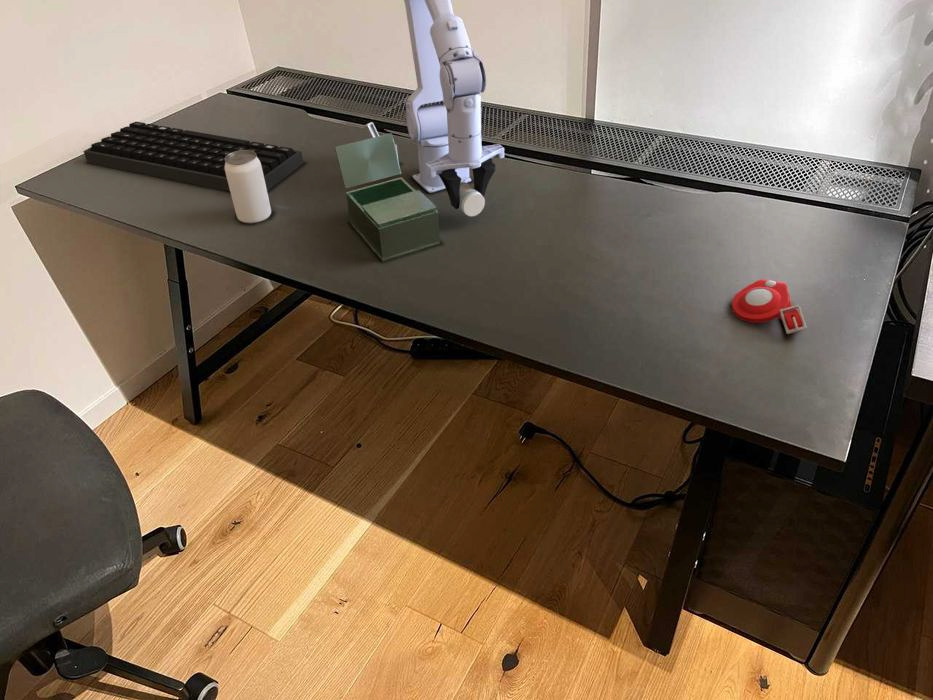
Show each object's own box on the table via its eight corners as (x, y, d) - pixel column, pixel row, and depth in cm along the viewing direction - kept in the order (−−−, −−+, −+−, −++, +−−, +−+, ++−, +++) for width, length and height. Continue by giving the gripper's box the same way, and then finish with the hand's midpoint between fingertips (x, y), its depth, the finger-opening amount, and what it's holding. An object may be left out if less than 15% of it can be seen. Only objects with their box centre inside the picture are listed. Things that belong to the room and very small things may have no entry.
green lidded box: (350, 223, 141) (345, 188, 136) (404, 208, 145) (401, 173, 140) (382, 261, 130) (378, 224, 126) (440, 244, 134) (437, 207, 130)
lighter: (399, 163, 159) (395, 127, 154) (394, 167, 158) (390, 130, 153) (372, 156, 162) (367, 120, 157) (367, 159, 161) (362, 123, 156)
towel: (445, 201, 139) (464, 206, 142) (459, 214, 135) (479, 218, 138) (454, 178, 137) (474, 183, 140) (469, 191, 133) (489, 196, 136)
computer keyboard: (303, 163, 161) (300, 146, 159) (258, 197, 150) (254, 179, 148) (139, 133, 176) (134, 117, 174) (87, 162, 165) (81, 146, 163)
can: (263, 225, 141) (249, 165, 134) (231, 223, 143) (215, 163, 135) (277, 208, 146) (264, 149, 139) (245, 206, 147) (231, 148, 140)
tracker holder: (719, 309, 115) (748, 267, 119) (724, 330, 118) (752, 288, 122) (801, 325, 107) (829, 279, 111) (803, 347, 110) (831, 301, 114)
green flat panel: (345, 188, 136) (345, 188, 136) (401, 173, 140) (400, 173, 140) (335, 147, 133) (334, 147, 134) (391, 133, 137) (391, 133, 138)
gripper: (436, 150, 124) (441, 223, 133) (513, 130, 129) (512, 201, 138) (418, 134, 129) (423, 206, 137) (492, 115, 134) (493, 185, 142)
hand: (467, 202), depth 138 cm, fingers closed on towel, 4 cm apart
